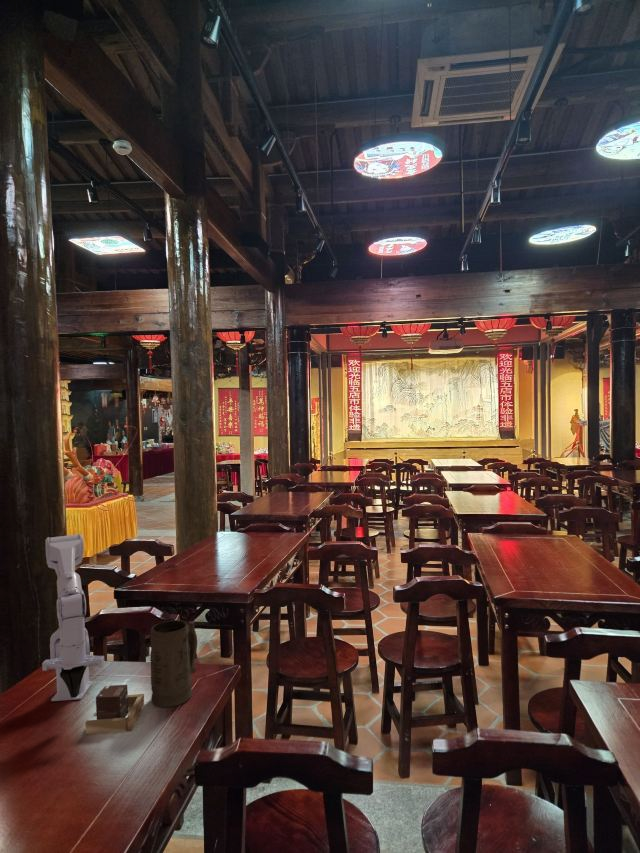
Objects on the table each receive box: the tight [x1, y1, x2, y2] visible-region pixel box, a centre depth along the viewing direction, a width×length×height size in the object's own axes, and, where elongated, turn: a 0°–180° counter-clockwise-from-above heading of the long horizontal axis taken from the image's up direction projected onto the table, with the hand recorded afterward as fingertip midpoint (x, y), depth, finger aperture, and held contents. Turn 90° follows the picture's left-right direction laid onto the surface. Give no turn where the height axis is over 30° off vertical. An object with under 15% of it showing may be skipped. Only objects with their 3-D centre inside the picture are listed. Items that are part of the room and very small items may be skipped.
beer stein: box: [149, 619, 198, 708], centre depth 146 cm, size 15×11×20 cm
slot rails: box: [85, 693, 145, 735], centre depth 134 cm, size 12×11×3 cm
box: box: [95, 684, 130, 720], centre depth 134 cm, size 6×6×7 cm
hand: (74, 695), depth 133 cm, fingers closed
